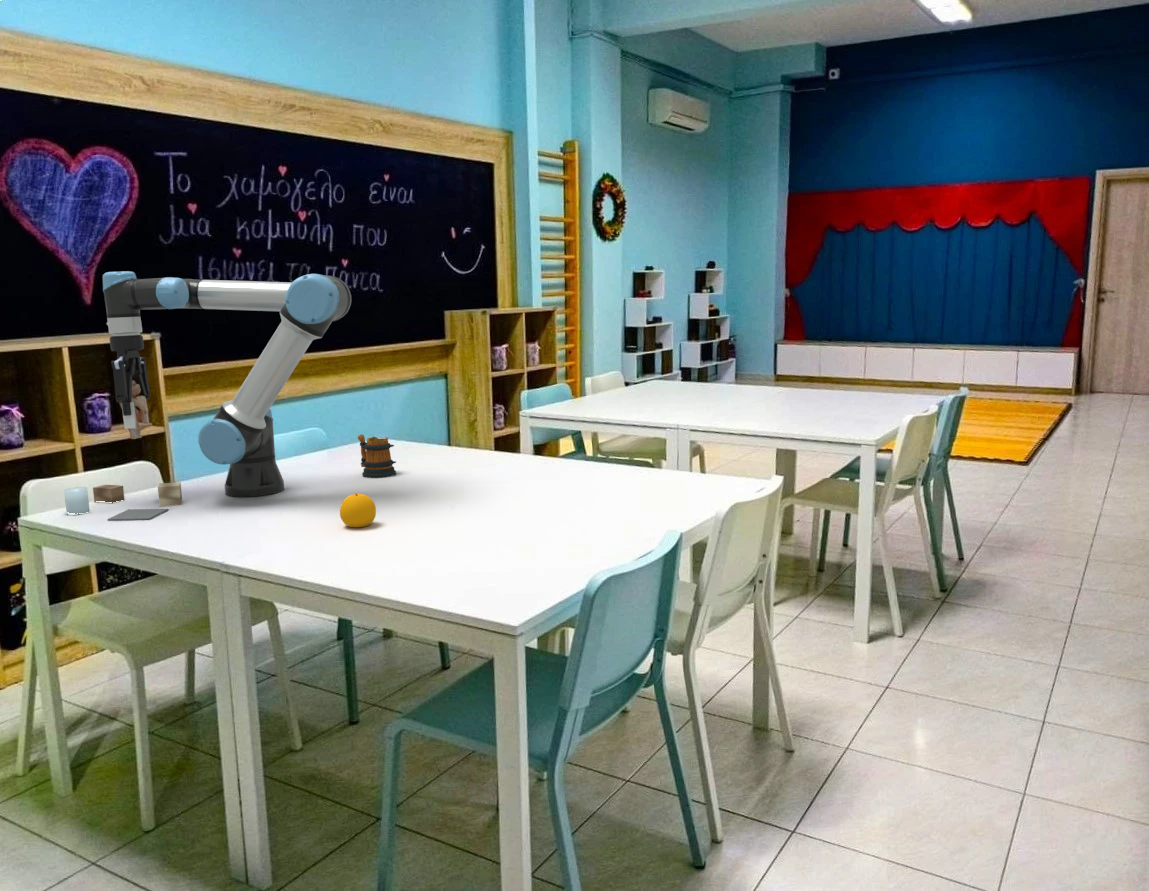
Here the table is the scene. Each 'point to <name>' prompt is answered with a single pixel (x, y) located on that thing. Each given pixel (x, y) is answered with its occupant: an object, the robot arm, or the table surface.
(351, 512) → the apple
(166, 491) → the beech block
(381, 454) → the mug
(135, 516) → the grey mat
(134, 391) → the figurine
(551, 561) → the table surface
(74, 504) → the pale blue rounded block
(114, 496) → the walnut block
